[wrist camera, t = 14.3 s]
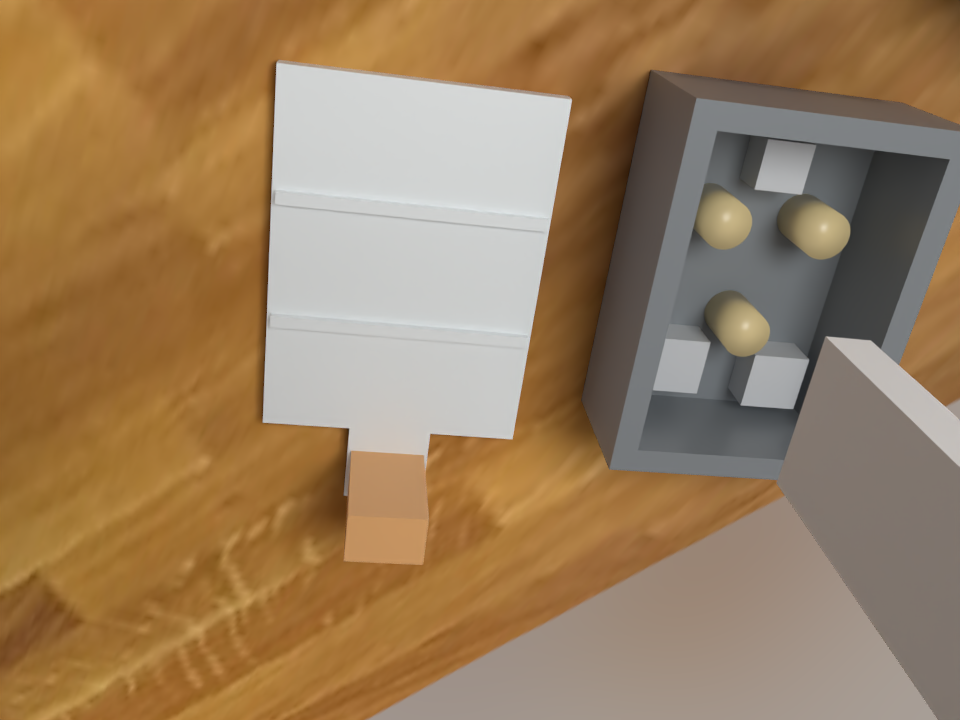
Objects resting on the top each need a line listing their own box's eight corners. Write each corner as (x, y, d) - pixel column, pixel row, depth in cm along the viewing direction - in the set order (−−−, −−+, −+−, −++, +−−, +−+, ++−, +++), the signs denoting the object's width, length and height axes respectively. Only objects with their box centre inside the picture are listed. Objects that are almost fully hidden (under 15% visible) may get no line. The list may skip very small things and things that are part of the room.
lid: (262, 480, 51) (245, 560, 45) (278, 59, 42) (260, 85, 35) (498, 494, 53) (514, 572, 47) (568, 95, 44) (599, 126, 37)
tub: (581, 400, 51) (609, 469, 45) (651, 69, 43) (696, 97, 37) (797, 416, 53) (853, 484, 47) (902, 102, 45) (985, 134, 39)
